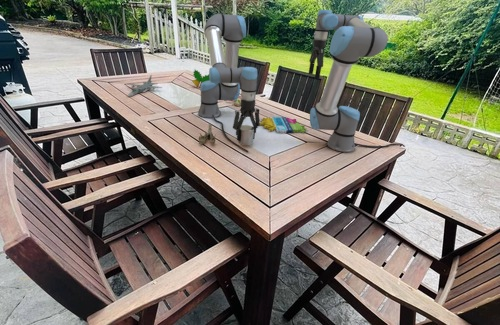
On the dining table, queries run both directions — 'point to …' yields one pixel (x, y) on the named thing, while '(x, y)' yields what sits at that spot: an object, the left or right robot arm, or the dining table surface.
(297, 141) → the dining table surface
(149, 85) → the airplane
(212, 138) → the jawbone
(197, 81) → the ornament
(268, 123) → the sign
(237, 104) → the toy
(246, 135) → the tin
